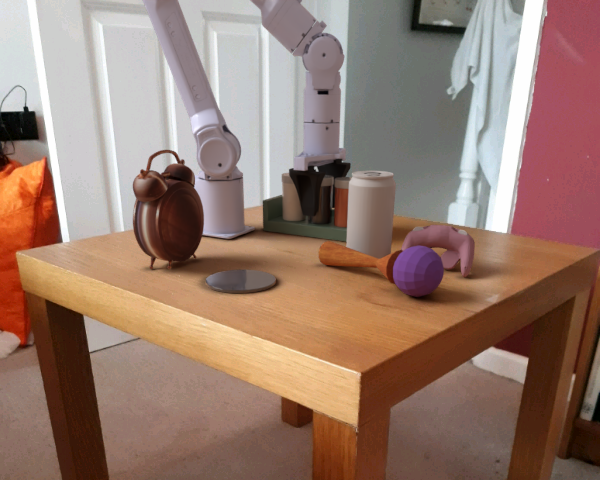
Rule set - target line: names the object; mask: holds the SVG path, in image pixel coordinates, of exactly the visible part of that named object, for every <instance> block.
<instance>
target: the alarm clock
mask: <svg viewBox="0 0 600 480" xmlns="http://www.w3.org/2000/svg"><path fill="white" fill-rule="evenodd" d="M163 154H171V155H173V156H174V158H175V161H176V162H177V163H176V162H175V163H171V164H169V165H167V166H166V167H165V169H164V171H162V172H161V173H160V172H159V171H156V170H151V167H152V163H153V161H154V159H155V158H156V157H158V156H161V155H163ZM147 159H148V160H147V164H146V168H145V169H144V168H141V169H140V171H139V173H138V174H137V175H136V176H135V178H134V179H133V181H132V190H133V194H134V197H135V202H134V205H133V211H132V229H133V233H134V234H133V235H134V238H135V241H136V242H137V245H138V247H139V248H140V249H141V251H142V252H143V253H144V254H145V255H146V256H148V257H150V265H149V269H150V270H153V269H154V264H155V262H156V260H160V261H164V262H167V263H168V265H167V269H169V270H170V269H172V262H179V263H181V262H185V261H187V260H189V259H191V258H193V259H197V255H196V254H195V253H196V252H197V250H198V249H199V246H200V244H201V241H202V237H203V235H202V234H203V228H204V212H203V206H202V202H201V199H200V196H199V194H198V192H197V191H196V190H195V188H194V187H195V175H196V174H195V173H194V171H193V170H192V169H191V168H190V167H189V166H187V165H185V163H186V162H185V159H183V158H182V159H180V157H179V155H178V153H177V152H176V151H174V150H171V149H160V150H158V151H155V152H154V153H153V154H151V155H149V157H148V158H147Z"/></svg>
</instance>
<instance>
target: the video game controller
mask: <svg viewBox="0 0 600 480" xmlns="http://www.w3.org/2000/svg"><path fill="white" fill-rule="evenodd" d="M475 243H476V242H475V240H474V238H473V236H472V235H470V234H469V233H468V232H467V231H466V230H464V229H460V228H456V227H454V226H451V225H445V224H430V225H425V226H415V227H414V228H412V230H410V231H409V232H408V233H407V234H406V236H405V237H404V240H403V242H402V244H401V248H400V250H403V251H404V250H405V249H408V248H410V247H413V246H418V245H419V246H425V247H428V248H431V249H434V248H435V249H444V250H445V251H444V252H443V253H442V254H441V255H440V258H441V260H442V264H443V268H444V270H445V271H452V270H454V269H455V267H456V266H457V265H458V264H459V262H460V271H461V272H460V273H461V277H463V278H466V277H468V276H469V274H470V273H471V271H472V267H473V263H474V259H475V247H476V245H475Z"/></svg>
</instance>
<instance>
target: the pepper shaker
mask: <svg viewBox="0 0 600 480" xmlns="http://www.w3.org/2000/svg"><path fill="white" fill-rule="evenodd" d="M333 184H334V177H333V176H330V175H325V176H324V178H323V181H322V184H321V188H320V192H319V199H318V208H317V213H316V216H308V222H309V223H312V224H329V223H331V222H332V209H333V208H332V200H333Z"/></svg>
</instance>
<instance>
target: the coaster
mask: <svg viewBox="0 0 600 480" xmlns="http://www.w3.org/2000/svg"><path fill="white" fill-rule="evenodd" d="M276 283H277V279H276V276H275V275H273V274H272V273H270V272H266V271H263V270H256V269H229V270H223V271H219V272H215V273H212V274H210V275H209V276H207V277H205V286H206V287H207V288H208V289H210V290H213V291H216V292H221V293H226V294H227V293H228V294H249V293H251V294H252V293H258V292H262V291H265V290H268V289H271V288H272V287H274V286H275V285H276Z"/></svg>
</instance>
